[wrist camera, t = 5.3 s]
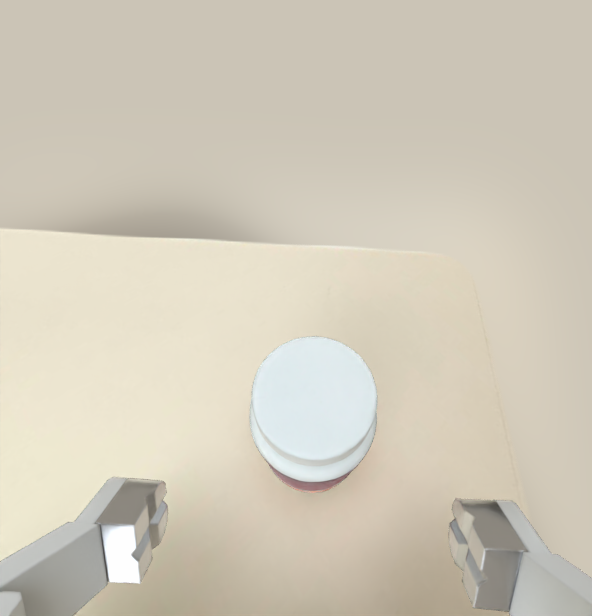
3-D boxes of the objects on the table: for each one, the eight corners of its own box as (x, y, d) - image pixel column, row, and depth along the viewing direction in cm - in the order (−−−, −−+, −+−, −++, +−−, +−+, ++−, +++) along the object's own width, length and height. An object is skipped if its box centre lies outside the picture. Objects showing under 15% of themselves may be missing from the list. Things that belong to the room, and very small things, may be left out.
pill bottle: (369, 482, 17) (413, 456, 10) (272, 502, 17) (248, 491, 10) (344, 388, 20) (366, 314, 13) (259, 405, 19) (232, 338, 12)
